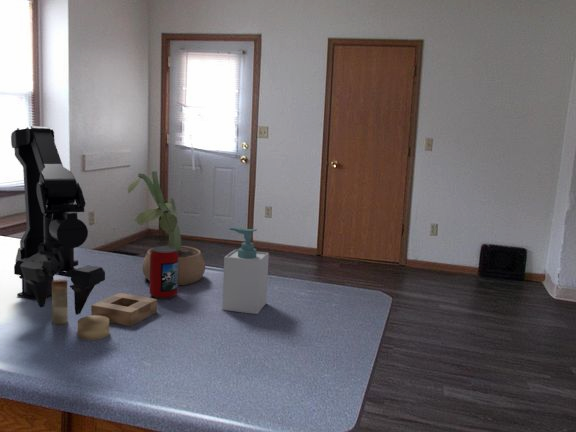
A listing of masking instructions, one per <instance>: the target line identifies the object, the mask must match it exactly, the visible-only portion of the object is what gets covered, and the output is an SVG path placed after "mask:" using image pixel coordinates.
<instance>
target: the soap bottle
mask: <svg viewBox="0 0 576 432" xmlns="http://www.w3.org/2000/svg"><path fill="white" fill-rule="evenodd" d="M229 230H230V231H234V232H236V233H238V234H241V235H243V239H244V241H243V242H242V243H241V246H240V247H239V248H238V249H237V248H236V249H234V250H232V251H231V252H229V253H227V255H225V256H224V258H223V261H224V262H223V278H222V279H223V281H222V282H223V283H222V307H221V308H222V309H221V310H222V311H228V312H235V313H236V312H237V313H243V314H244V313H246V314H255V315H258V314H259V312H260V311H261V310H262V309H263V308H264V306H265V305H266V304H267V296H268V295H267V293H268V274H269V273H268V272H269V260H270V259H269V258H270V257H269V256H270V253H269V252H266V251H257V249H256V248H255V247H254V246H255V245H254V242H251V239H252V235H253V232H256V231H258V230H257V229H256V228H253V229H252V228H251V229H250V228H242V227H235V226H234V227H229Z"/></svg>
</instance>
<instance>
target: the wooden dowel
mask: <svg viewBox="0 0 576 432" xmlns="http://www.w3.org/2000/svg"><path fill="white" fill-rule="evenodd" d="M68 304H69V303H68V280H67V279H65V278H64V279H63V278H62V279H61V278H59V279H58V278H57V279H54V280H53V281H52V295H51V317H52V320H51V324H52V325H55V326H63V325H67V323H68V319H69V317H68V313H69V312H68V310H69V309H68V306H69V305H68Z"/></svg>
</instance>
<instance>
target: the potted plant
mask: <svg viewBox="0 0 576 432" xmlns="http://www.w3.org/2000/svg"><path fill="white" fill-rule="evenodd" d="M151 176H152V177H151V178H152V180H151V179H150V178H149V177H148V176H147V175H146V174H144V173H142V172H141V173H138V176H137V177H138V179H136V180H135V181H133V182H132V183H131V184H130V185H129V186H128V187H127V191H128V194H130V193H131V192H132V191H134V189H135V188H136V187H137V186H138V185H139V183H140V182H141V179H142V180H143V181H144V182H145V183H146V185H147V187H148V189H149V192H150V193H151V196H152V198H153V200H154V202H155V203H156V205H157V206H155V207H154V208H152V209H147V210H144V211H141V212H140V213H139V214H137V216H136V218H135V222H136V223H137V224H138V225H139V226H142V225H144V224H147V223H149V222H151V221H155V220H157V219H159V218H160V220H159V221H158V222H159V223H158V224H159V227H160V228H161V230H163V231H164V232H167V233H168V246H170V247H174V248H175V249H176V252H177V254H178V286H186V285H192V284H194V283H197V282H198V281H199V280H201V279H202V277H203V275H204V274H205V271H206V262H205V259H204V257H203V255H202V252H201V250H200V249H198V248H196V247H192V246H186V245H182V237H181V230H180V227H179V224H178V214H177V207H176V203H175V199H174V198H173V197H172V198H170V202H166V203H165V199H164V195H163V192H162V189H161V186H160V183H159V177H158V170H152V171H151ZM171 208H172V211H171V210H170V209H171ZM153 248H154V247H151V248H150V249H148V250H147V251H146V252H147V253H146V254H145V256H144V259H143V262H142V273H143V275H144V277H145V278H146V279H147V281H149V282H150V255H151V253H152V251H153Z"/></svg>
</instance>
